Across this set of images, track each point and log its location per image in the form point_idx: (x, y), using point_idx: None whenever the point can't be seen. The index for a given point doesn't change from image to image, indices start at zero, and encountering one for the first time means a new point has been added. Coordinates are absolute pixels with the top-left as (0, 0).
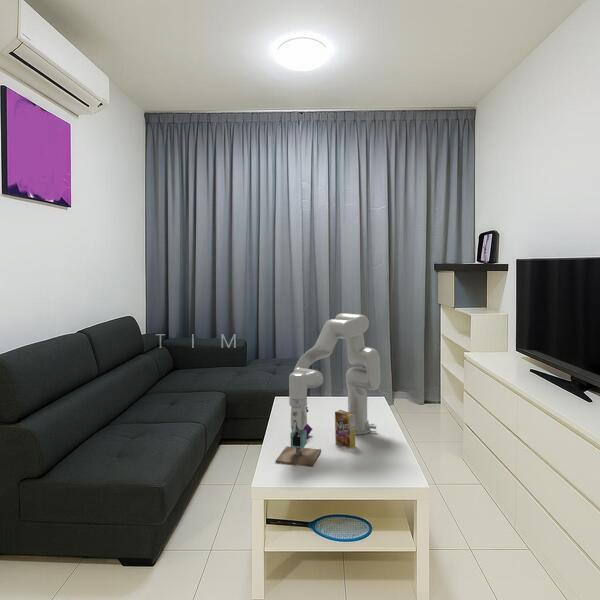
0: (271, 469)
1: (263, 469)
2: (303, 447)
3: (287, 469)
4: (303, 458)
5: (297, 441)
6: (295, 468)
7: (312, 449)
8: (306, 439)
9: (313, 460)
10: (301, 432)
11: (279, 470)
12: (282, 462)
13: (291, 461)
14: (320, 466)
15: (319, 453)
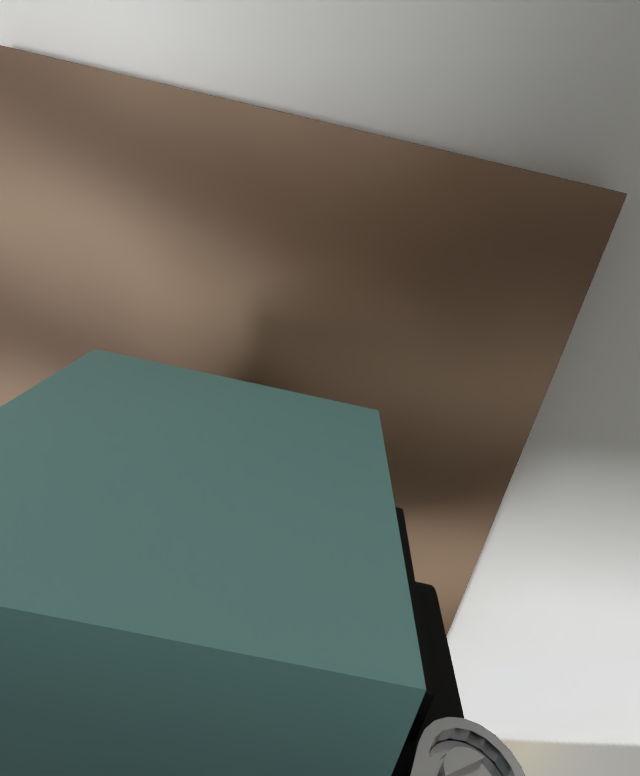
0: (591, 667)
1: (577, 728)
2: (376, 415)
3: (624, 522)
4: (379, 349)
5: (441, 641)
6: (614, 435)
7: (13, 212)
8: (64, 384)
9: (468, 183)
10: (182, 745)
11: (634, 599)
12: (458, 589)
13: (475, 503)
14: (612, 53)
15: (124, 77)
